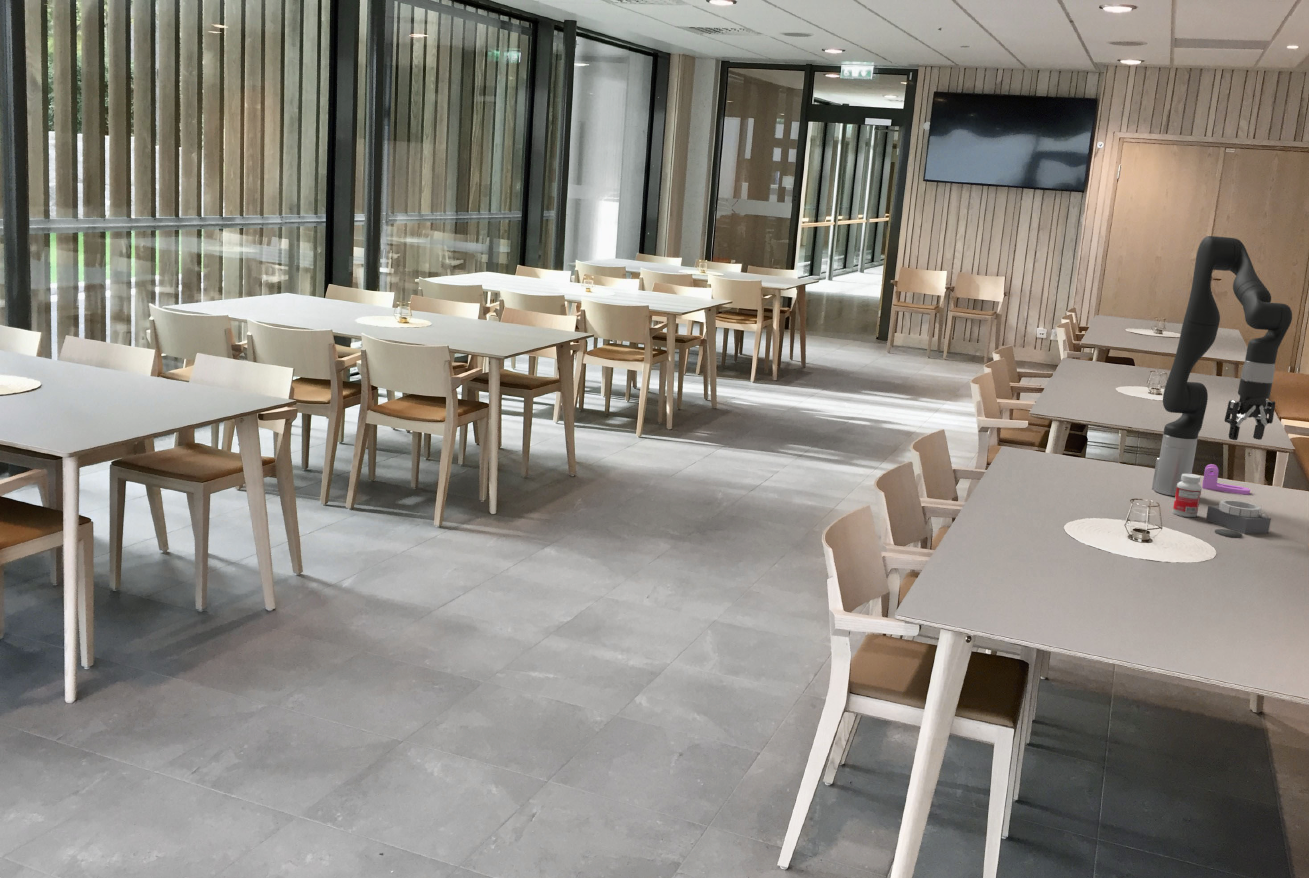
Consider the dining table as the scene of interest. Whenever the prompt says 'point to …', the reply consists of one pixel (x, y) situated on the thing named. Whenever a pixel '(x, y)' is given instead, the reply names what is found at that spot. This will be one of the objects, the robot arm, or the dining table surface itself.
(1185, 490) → the pill bottle
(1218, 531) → the lens cap
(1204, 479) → the bracket
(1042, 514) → the dining table surface
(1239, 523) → the gray ring-topped block
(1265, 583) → the dining table surface
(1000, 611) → the dining table surface
